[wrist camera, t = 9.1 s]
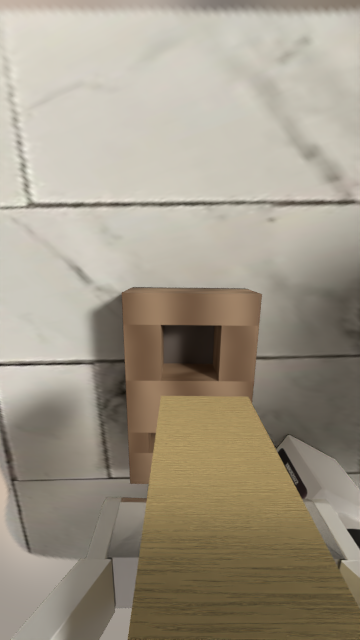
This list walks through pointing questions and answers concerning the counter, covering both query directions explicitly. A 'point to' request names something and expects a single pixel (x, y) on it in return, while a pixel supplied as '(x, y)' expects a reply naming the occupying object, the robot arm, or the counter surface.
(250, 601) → the light wooden square bit
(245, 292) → the walnut socket block
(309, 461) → the container
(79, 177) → the counter surface
